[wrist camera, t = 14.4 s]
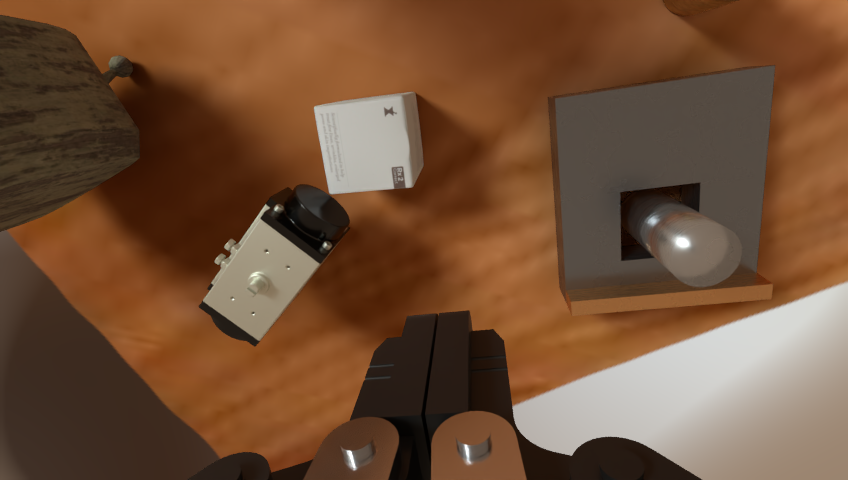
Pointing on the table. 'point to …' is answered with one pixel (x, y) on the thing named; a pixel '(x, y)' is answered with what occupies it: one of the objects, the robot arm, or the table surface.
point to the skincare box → (370, 143)
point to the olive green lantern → (56, 121)
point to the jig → (658, 182)
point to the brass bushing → (693, 6)
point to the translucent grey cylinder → (681, 238)
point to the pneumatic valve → (274, 261)
